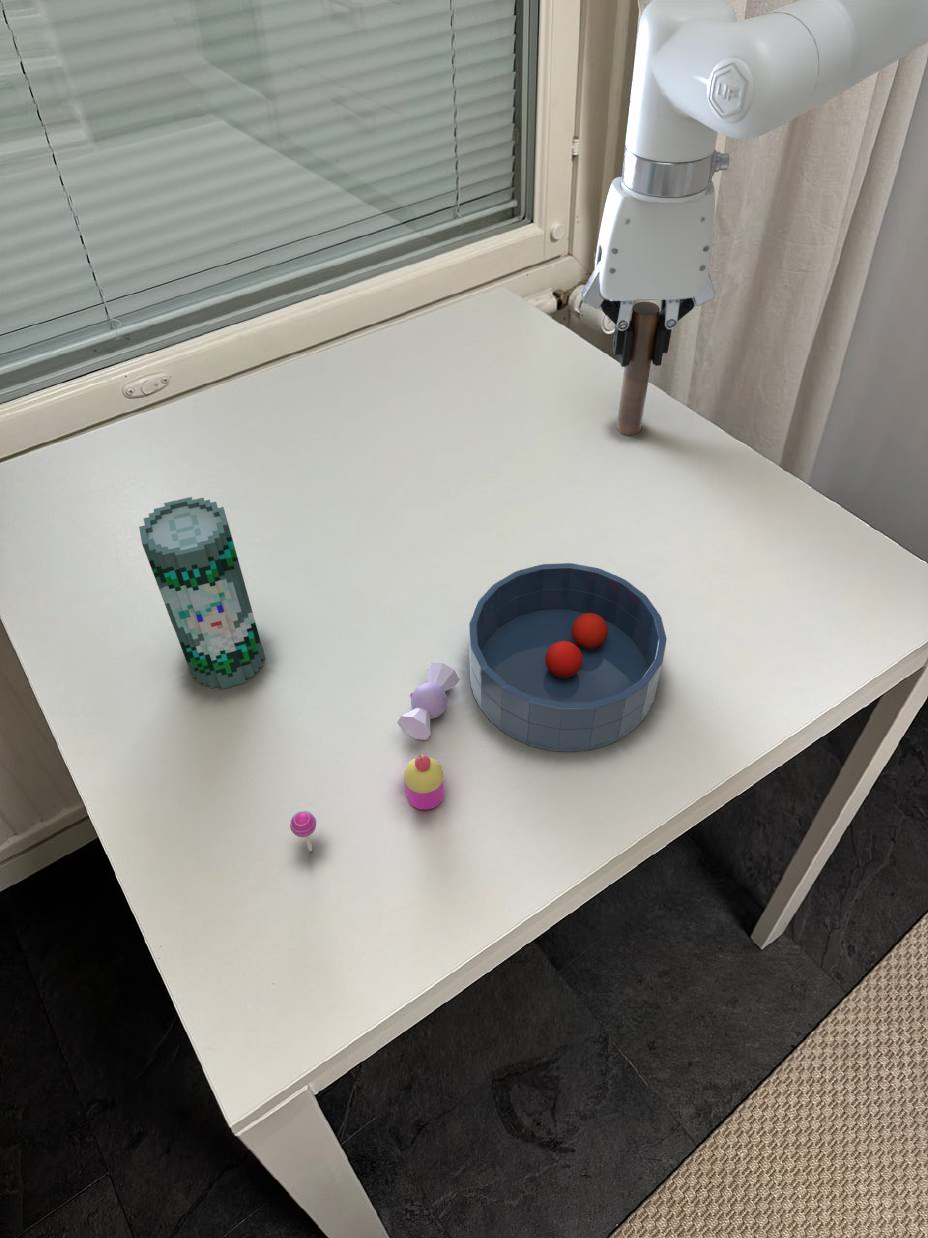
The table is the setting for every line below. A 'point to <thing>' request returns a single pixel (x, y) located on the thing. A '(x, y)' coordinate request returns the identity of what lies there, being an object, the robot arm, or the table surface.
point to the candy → (422, 771)
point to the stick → (637, 368)
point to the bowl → (543, 615)
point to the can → (203, 590)
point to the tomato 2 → (589, 630)
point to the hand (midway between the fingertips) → (638, 357)
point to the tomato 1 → (563, 659)
